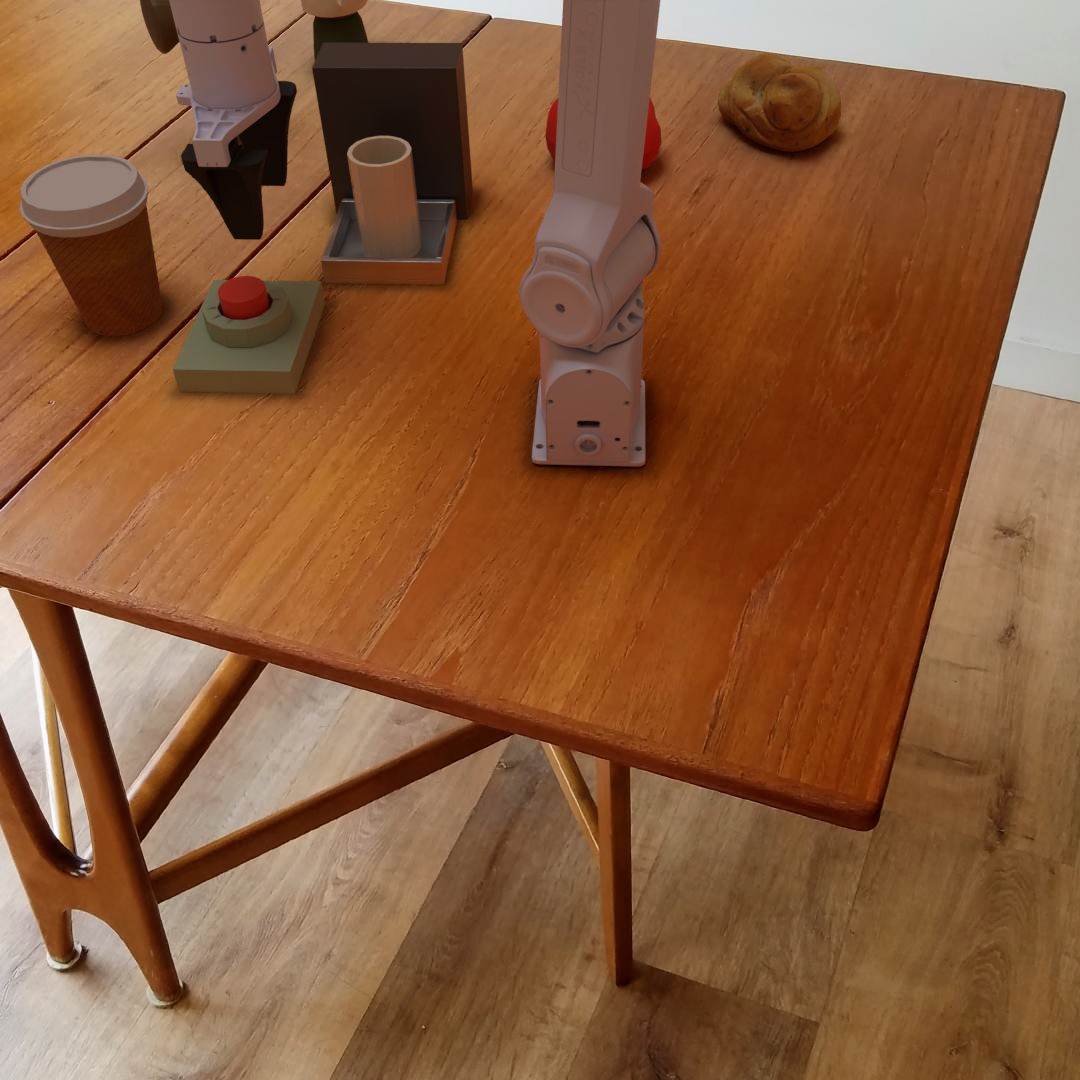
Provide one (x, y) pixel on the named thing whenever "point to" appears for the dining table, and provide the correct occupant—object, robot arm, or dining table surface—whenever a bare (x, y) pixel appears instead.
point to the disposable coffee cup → (98, 238)
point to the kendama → (162, 27)
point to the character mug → (336, 21)
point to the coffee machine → (398, 112)
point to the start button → (243, 298)
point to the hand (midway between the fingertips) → (260, 209)
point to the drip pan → (424, 268)
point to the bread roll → (781, 103)
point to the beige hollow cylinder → (385, 197)
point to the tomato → (651, 134)
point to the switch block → (252, 342)
